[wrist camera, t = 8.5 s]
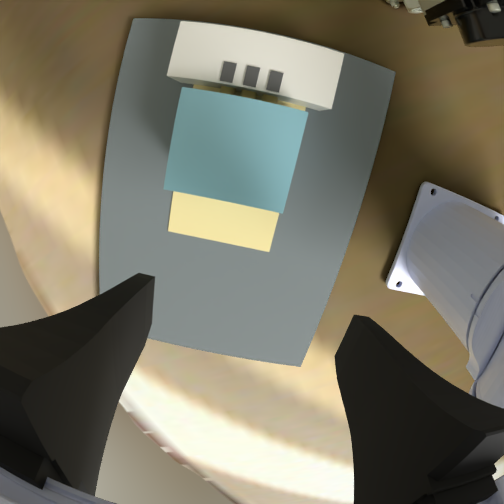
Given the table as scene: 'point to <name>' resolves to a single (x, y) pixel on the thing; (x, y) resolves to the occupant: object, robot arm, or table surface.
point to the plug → (234, 149)
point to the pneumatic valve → (463, 18)
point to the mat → (233, 212)
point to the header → (255, 64)
